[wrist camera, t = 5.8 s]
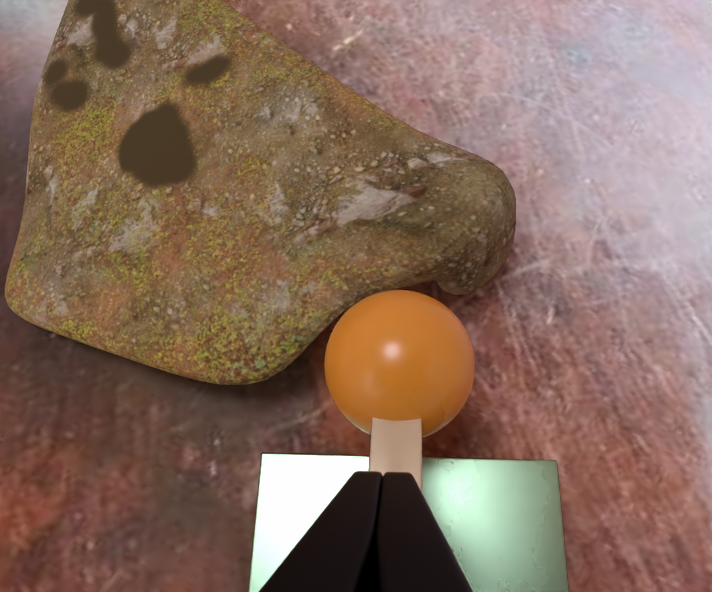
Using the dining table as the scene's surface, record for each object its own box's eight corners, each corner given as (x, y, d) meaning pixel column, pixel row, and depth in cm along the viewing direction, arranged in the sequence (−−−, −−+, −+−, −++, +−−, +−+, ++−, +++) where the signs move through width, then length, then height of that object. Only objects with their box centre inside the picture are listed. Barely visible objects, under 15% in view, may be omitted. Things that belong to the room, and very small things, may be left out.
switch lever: (340, 342, 16) (322, 260, 14) (466, 343, 16) (475, 257, 13) (284, 900, 10) (224, 965, 7) (503, 927, 9) (537, 1008, 6)
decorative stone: (538, 247, 20) (536, 172, 16) (231, 561, 20) (138, 576, 15) (182, -13, 31) (121, -101, 27) (-19, 181, 31) (-115, 125, 26)
